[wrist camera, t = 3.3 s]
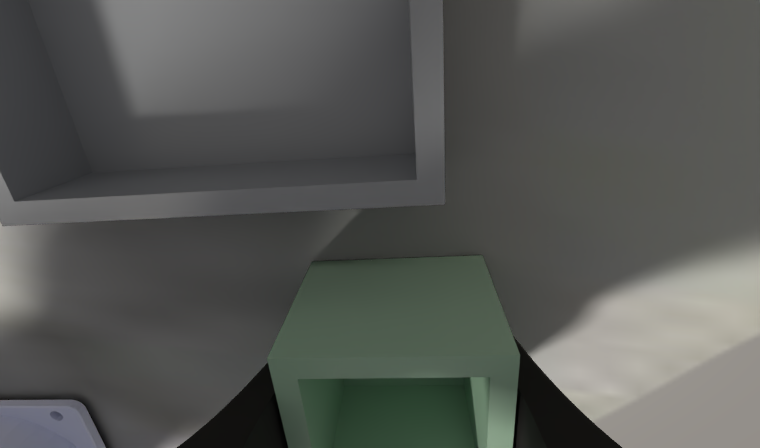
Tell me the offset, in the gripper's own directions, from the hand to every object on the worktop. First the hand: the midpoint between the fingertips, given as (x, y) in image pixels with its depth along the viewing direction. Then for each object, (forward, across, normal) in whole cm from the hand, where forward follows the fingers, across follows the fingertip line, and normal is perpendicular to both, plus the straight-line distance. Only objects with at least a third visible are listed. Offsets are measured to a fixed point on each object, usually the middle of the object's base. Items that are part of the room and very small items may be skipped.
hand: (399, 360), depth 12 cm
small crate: (+2, 0, 0) cm, 2 cm away
